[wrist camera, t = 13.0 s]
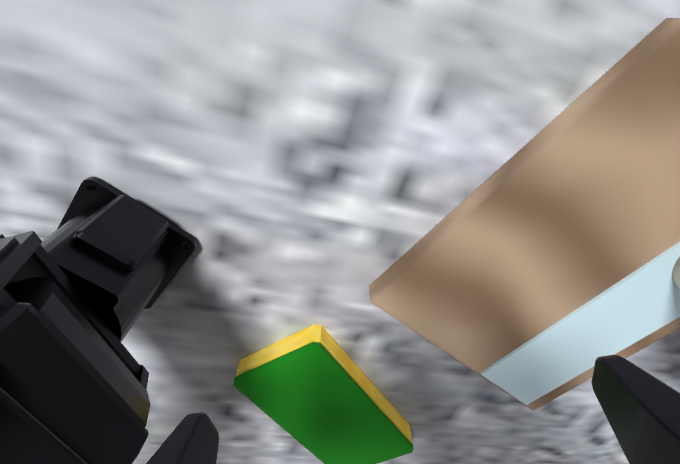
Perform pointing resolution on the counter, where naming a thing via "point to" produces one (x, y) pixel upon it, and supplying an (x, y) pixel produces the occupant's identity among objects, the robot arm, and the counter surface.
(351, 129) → the counter surface
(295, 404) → the dish sponge
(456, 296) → the subfloor panel
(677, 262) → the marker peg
